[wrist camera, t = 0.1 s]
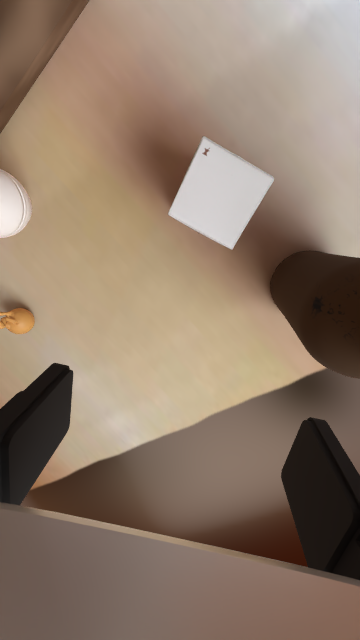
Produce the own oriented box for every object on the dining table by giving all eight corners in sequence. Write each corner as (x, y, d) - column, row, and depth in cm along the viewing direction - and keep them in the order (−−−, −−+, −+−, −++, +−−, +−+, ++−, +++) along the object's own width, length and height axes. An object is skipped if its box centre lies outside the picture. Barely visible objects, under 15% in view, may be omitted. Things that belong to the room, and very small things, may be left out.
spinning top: (24, 162, 37) (-54, 136, 26) (68, 207, 39) (12, 201, 27) (-7, 205, 39) (-91, 198, 28) (35, 246, 41) (-29, 255, 30)
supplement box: (176, 216, 38) (163, 213, 26) (203, 161, 36) (203, 131, 24) (223, 242, 39) (231, 252, 27) (252, 191, 36) (277, 175, 24)
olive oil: (268, 324, 42) (350, 454, 18) (262, 253, 39) (354, 301, 15) (343, 314, 41) (535, 441, 17) (343, 239, 37) (583, 269, 14)
